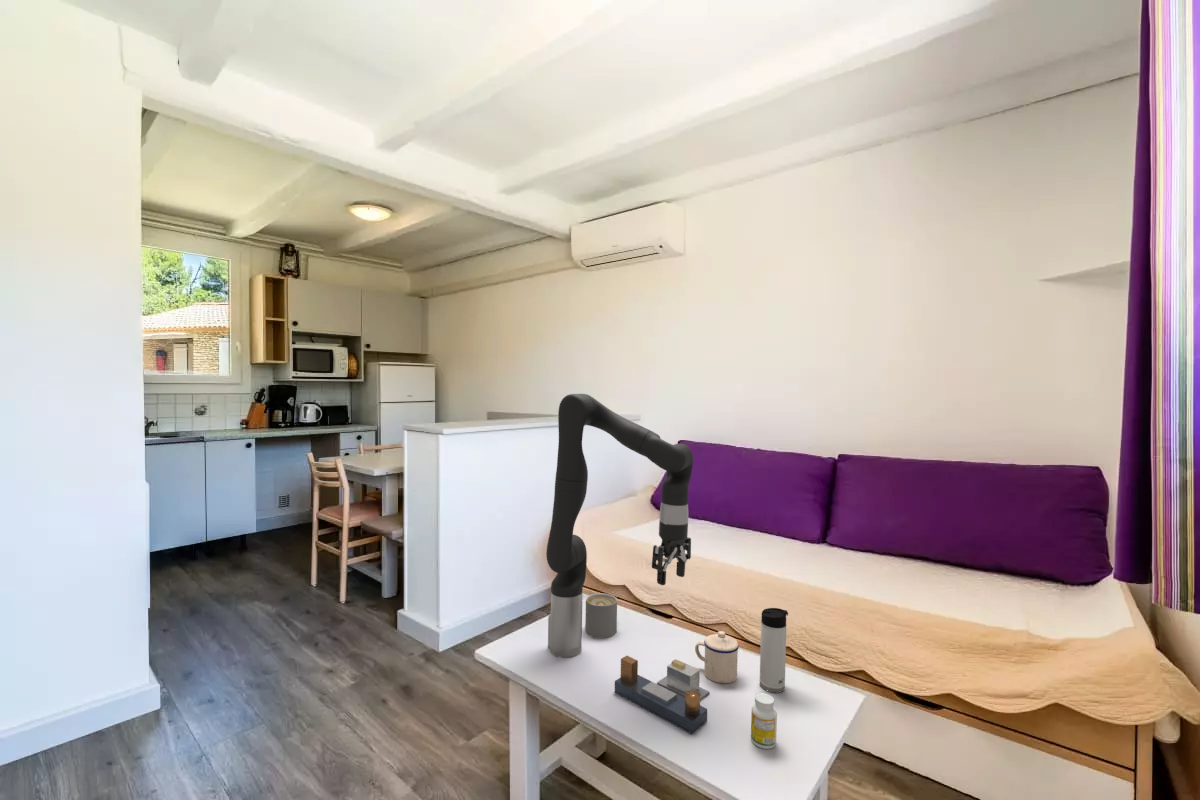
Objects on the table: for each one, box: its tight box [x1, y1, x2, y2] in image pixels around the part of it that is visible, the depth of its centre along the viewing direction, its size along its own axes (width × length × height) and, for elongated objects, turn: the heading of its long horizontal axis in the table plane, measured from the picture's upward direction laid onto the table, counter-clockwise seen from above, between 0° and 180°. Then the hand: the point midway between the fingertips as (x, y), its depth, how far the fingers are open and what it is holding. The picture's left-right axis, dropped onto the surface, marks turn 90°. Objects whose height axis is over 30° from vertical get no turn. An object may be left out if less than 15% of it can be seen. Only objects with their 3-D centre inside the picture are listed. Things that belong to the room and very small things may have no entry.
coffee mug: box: [584, 592, 618, 639], centre depth 168 cm, size 13×10×10 cm
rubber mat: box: [656, 675, 710, 702], centre depth 135 cm, size 12×6×1 cm, turn 47°
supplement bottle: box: [750, 692, 778, 750], centre depth 116 cm, size 5×5×10 cm
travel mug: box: [759, 607, 789, 693], centre depth 137 cm, size 6×7×20 cm
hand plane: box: [614, 655, 708, 735], centre depth 128 cm, size 23×6×8 cm, turn 47°
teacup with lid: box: [694, 630, 740, 684], centre depth 143 cm, size 12×9×12 cm
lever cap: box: [666, 659, 701, 694], centre depth 135 cm, size 7×4×6 cm, turn 47°
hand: (670, 580), depth 140 cm, fingers open, 8 cm apart
